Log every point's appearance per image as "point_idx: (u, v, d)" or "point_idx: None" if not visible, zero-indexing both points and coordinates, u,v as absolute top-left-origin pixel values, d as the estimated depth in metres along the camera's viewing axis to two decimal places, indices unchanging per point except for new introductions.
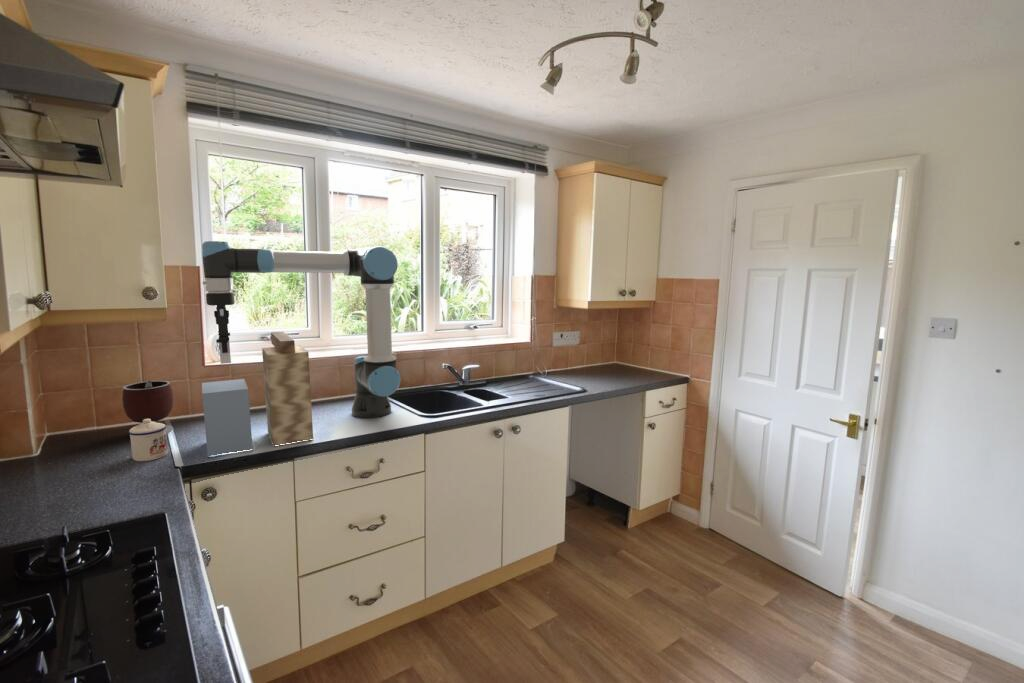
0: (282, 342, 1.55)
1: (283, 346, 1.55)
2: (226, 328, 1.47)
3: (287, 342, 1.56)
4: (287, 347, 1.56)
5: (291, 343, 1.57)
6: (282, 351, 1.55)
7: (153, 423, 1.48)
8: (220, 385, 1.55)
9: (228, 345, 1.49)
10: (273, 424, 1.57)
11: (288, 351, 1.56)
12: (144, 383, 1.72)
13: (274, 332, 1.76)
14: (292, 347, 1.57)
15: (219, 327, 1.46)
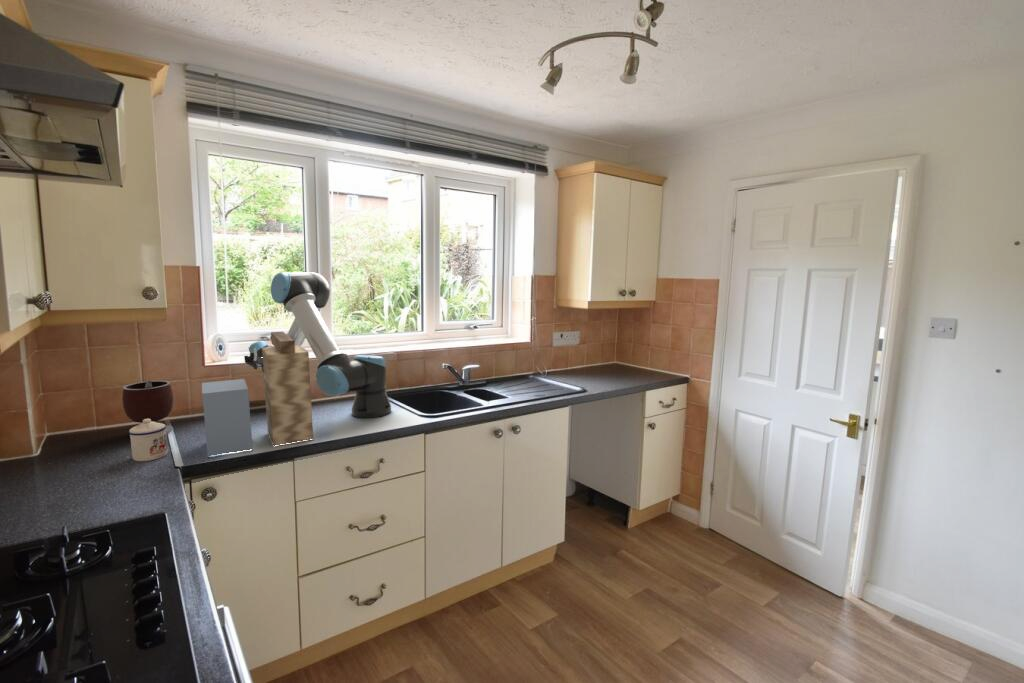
0: (282, 342, 1.55)
1: (283, 346, 1.55)
2: None
3: (287, 342, 1.56)
4: (287, 347, 1.56)
5: (291, 343, 1.57)
6: (282, 351, 1.55)
7: (153, 423, 1.48)
8: (220, 385, 1.55)
9: None
10: (273, 424, 1.57)
11: (288, 351, 1.56)
12: (144, 383, 1.72)
13: (274, 332, 1.76)
14: (292, 347, 1.57)
15: None
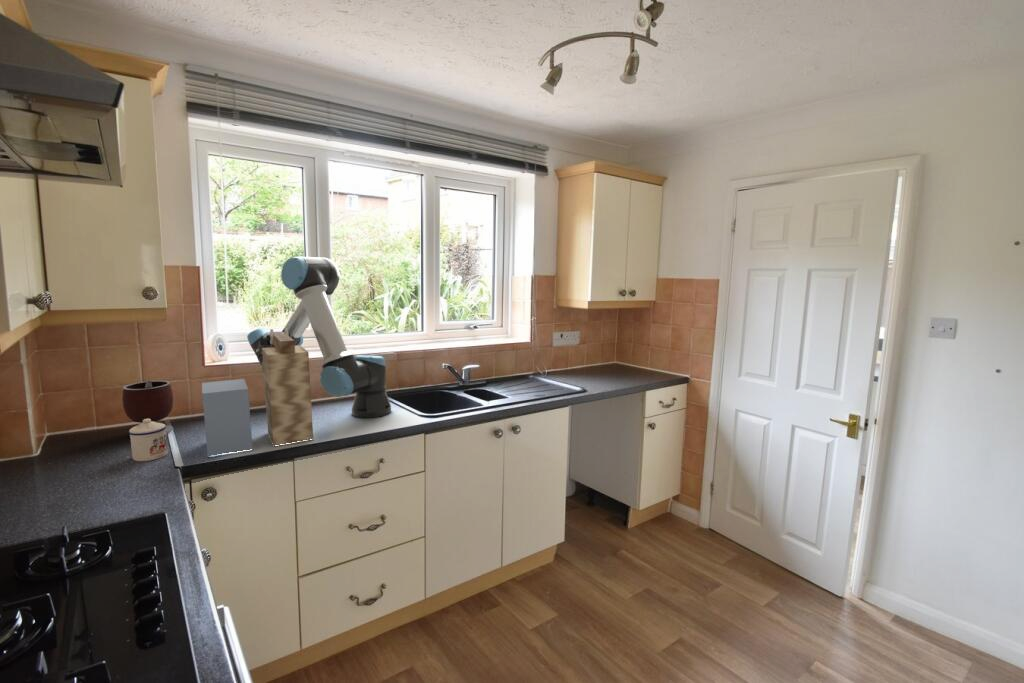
0: (282, 342, 1.55)
1: (283, 346, 1.55)
2: (259, 343, 1.77)
3: (287, 342, 1.56)
4: (287, 347, 1.56)
5: (291, 343, 1.57)
6: (282, 351, 1.55)
7: (153, 423, 1.48)
8: (220, 385, 1.55)
9: None
10: (273, 424, 1.57)
11: (288, 351, 1.56)
12: (144, 383, 1.72)
13: (274, 332, 1.76)
14: (292, 347, 1.57)
15: (259, 347, 1.77)
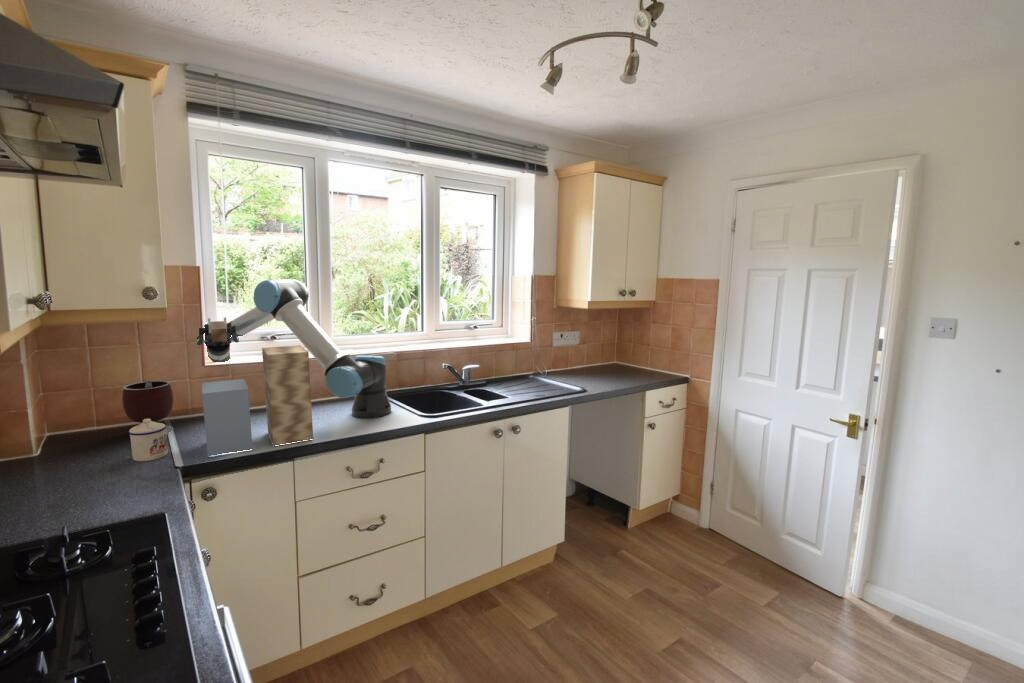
0: (213, 330, 1.53)
1: (214, 334, 1.53)
2: None
3: (218, 330, 1.53)
4: (218, 335, 1.54)
5: (223, 331, 1.54)
6: (213, 340, 1.53)
7: (153, 423, 1.48)
8: (220, 385, 1.55)
9: None
10: (273, 424, 1.57)
11: (220, 339, 1.54)
12: (144, 383, 1.72)
13: None
14: (224, 335, 1.54)
15: (199, 337, 1.74)
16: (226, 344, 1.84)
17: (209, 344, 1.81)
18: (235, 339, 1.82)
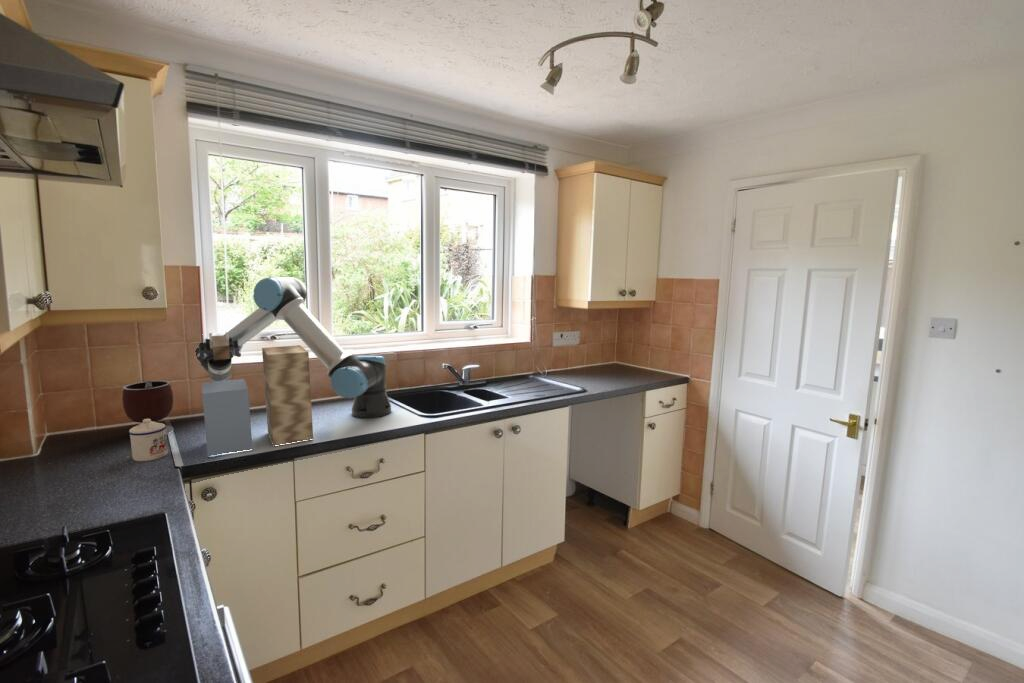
0: (215, 347, 1.46)
1: (216, 352, 1.46)
2: (199, 347, 1.68)
3: (221, 347, 1.47)
4: (221, 353, 1.47)
5: (225, 348, 1.47)
6: (215, 357, 1.46)
7: (153, 423, 1.48)
8: (220, 385, 1.55)
9: None
10: (273, 424, 1.57)
11: (222, 357, 1.47)
12: (144, 383, 1.72)
13: (215, 336, 1.67)
14: (226, 353, 1.48)
15: (199, 352, 1.68)
16: None
17: (210, 359, 1.74)
18: (237, 353, 1.75)
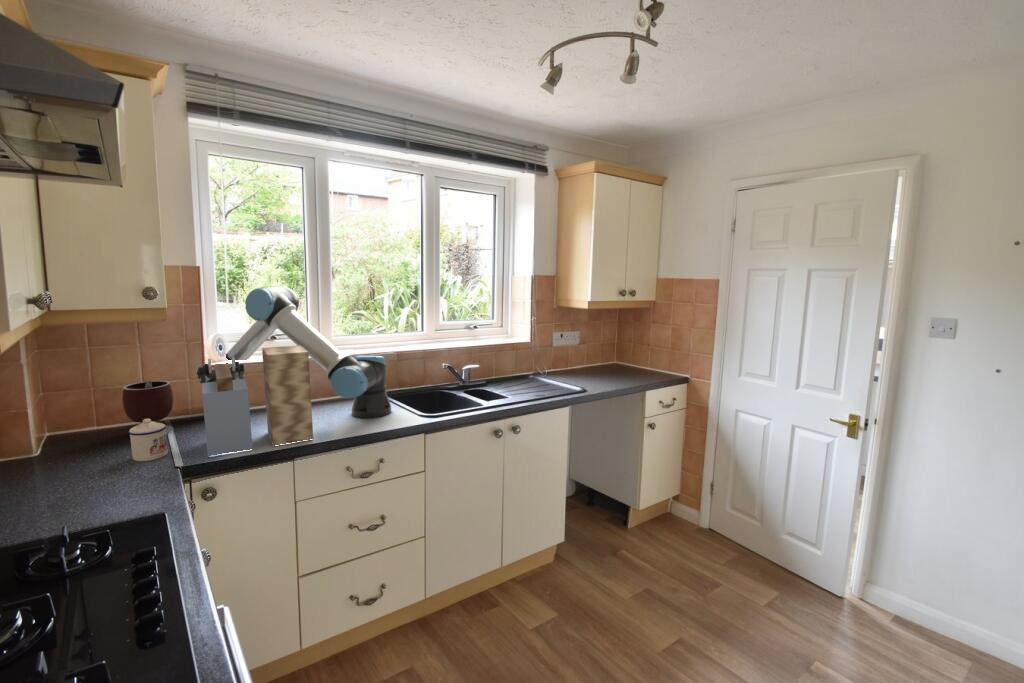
0: (218, 379, 1.47)
1: (220, 384, 1.48)
2: None
3: (224, 379, 1.48)
4: (224, 384, 1.48)
5: (229, 380, 1.49)
6: (218, 389, 1.48)
7: (153, 423, 1.48)
8: None
9: None
10: (273, 424, 1.57)
11: (225, 389, 1.49)
12: (144, 383, 1.72)
13: (218, 364, 1.68)
14: (230, 384, 1.49)
15: (200, 377, 1.69)
16: None
17: None
18: (241, 376, 1.77)
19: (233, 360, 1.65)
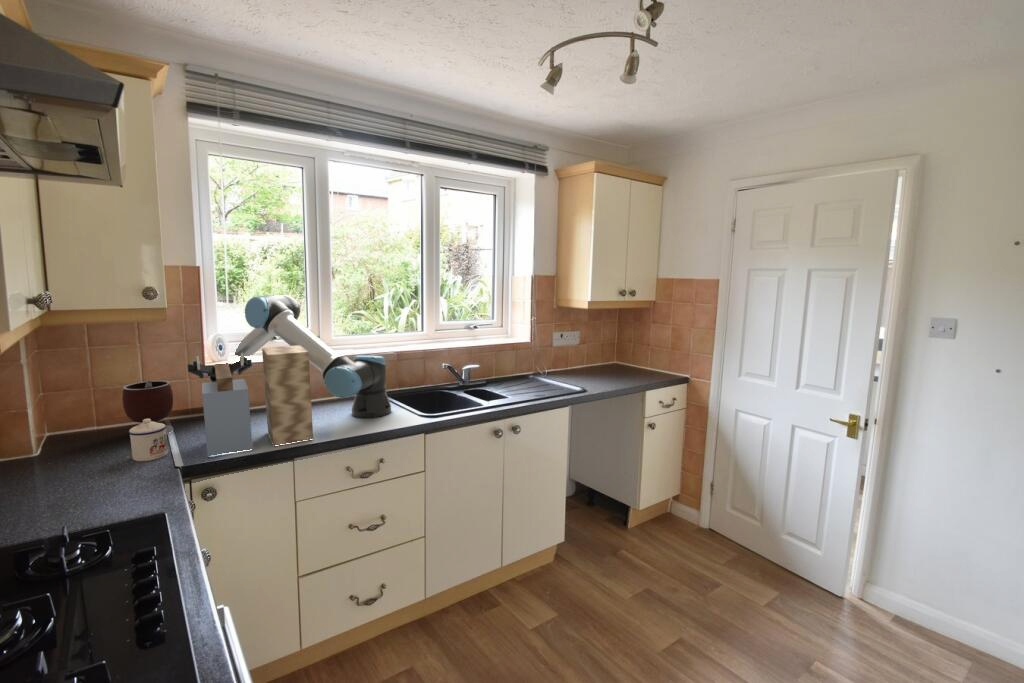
0: (218, 379, 1.47)
1: (220, 384, 1.48)
2: None
3: (224, 379, 1.48)
4: (224, 384, 1.48)
5: (229, 380, 1.49)
6: (218, 389, 1.48)
7: (153, 423, 1.48)
8: None
9: None
10: (273, 424, 1.57)
11: (225, 389, 1.49)
12: (144, 383, 1.72)
13: (218, 364, 1.68)
14: (230, 384, 1.49)
15: None
16: None
17: (212, 375, 1.85)
18: (241, 371, 1.89)
19: (242, 356, 1.78)
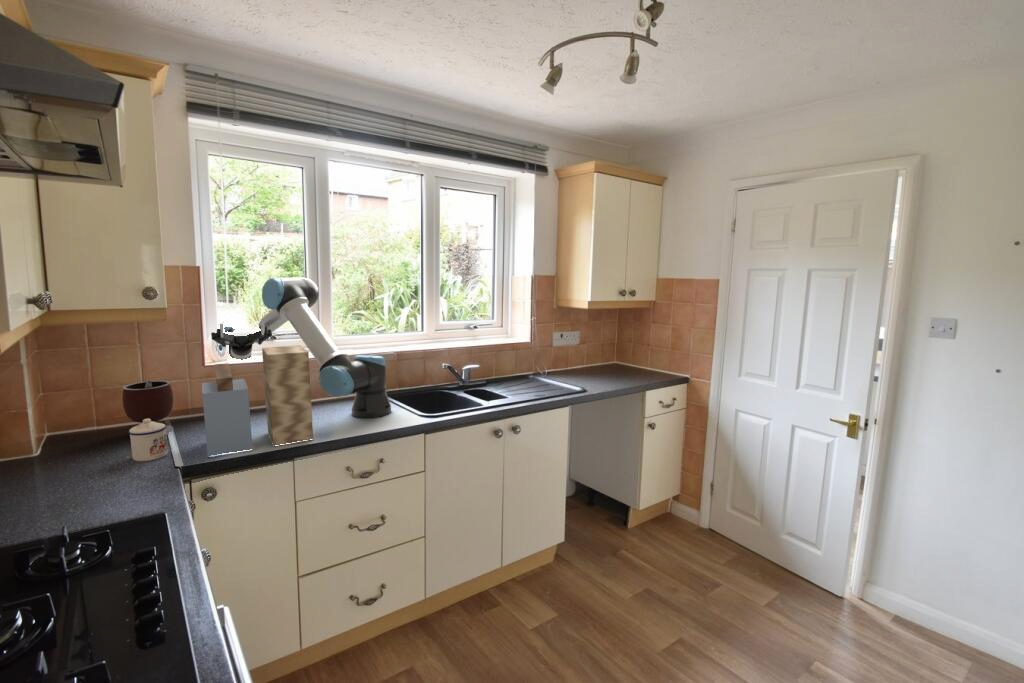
0: (218, 379, 1.47)
1: (220, 384, 1.48)
2: None
3: (224, 379, 1.48)
4: (224, 384, 1.48)
5: (229, 380, 1.49)
6: (218, 389, 1.48)
7: (153, 423, 1.48)
8: None
9: None
10: (273, 424, 1.57)
11: (225, 389, 1.49)
12: (144, 383, 1.72)
13: (218, 364, 1.68)
14: (230, 384, 1.49)
15: None
16: None
17: (233, 345, 1.92)
18: (262, 341, 1.96)
19: (263, 324, 1.85)
